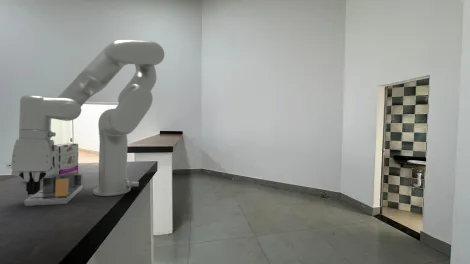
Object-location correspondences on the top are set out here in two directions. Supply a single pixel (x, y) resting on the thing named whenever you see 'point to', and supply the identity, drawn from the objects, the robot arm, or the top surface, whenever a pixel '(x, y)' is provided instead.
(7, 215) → the top surface
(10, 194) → the top surface
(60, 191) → the cap
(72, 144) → the candy bar box
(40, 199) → the console
